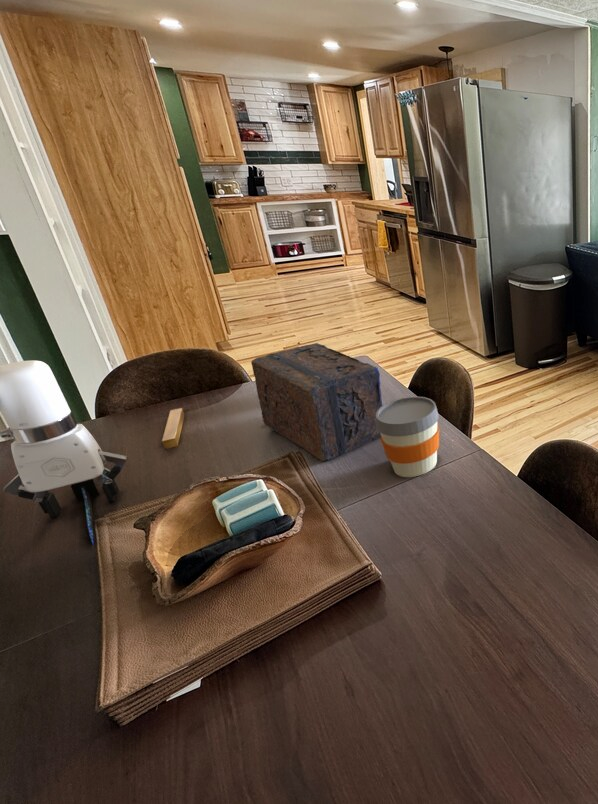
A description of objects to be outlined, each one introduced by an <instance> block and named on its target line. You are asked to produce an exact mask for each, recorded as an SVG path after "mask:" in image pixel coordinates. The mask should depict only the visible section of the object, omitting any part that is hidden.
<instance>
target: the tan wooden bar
mask: <svg viewBox="0 0 598 804" xmlns="http://www.w3.org/2000/svg"><path fill="white" fill-rule="evenodd" d="M184 420H185V412H184V409H183V407H179V408H175V409H174V408H173V409H170V411H169V414H168V417H167V421H166V425H165V429H164V431H163V432H164V433H163V435H162V439H161V443H162V445H163V448H164V450H167V449H171V448H176V447H179V443H180V438H181V434H182V429H183V423H184Z"/></svg>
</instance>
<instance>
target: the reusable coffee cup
mask: <svg viewBox="0 0 598 804" xmlns="http://www.w3.org/2000/svg"><path fill="white" fill-rule="evenodd" d="M438 420H439V412H438V408H437V405H436V402H435V401H434V400H433V399H431V398H428V397H425V396H405V397H401V398H397V399H393V400H391V401H388V402H386V403H385V404H382V407H380V408H379V409H378V410H377V412H376V426H377V430H378V431H379V432H380V434H381V436H380V437H379V438H380V439H379V440H380V443H381V445H382V448H383V451H384V453H385V456H386V458H387V459H388V461H390V464H391V466H392V469H393V471H394V473H395V474H396V475H397V476H399V477H402V478H413V477H419V476H423V475H425V474H427V473H429V472H430V471H432V470H433V469H434V468H435V467H436V465H437V463H438V449H439V447H440V427H439V424H438Z"/></svg>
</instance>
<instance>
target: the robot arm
mask: <svg viewBox="0 0 598 804" xmlns="http://www.w3.org/2000/svg"><path fill="white" fill-rule="evenodd" d="M0 413H1V415H2V417H3V419H4V421H5V422H6V425H7V426H8V427H7V428H6V429H1V430H0V437H1V438H3V439H4V438H12V439H13V442H12V443H11V444H10V449H11V455H12V459H13V461H14V465H15V468H16V471H17V473H18V474H17V475H16V476H15V477H13V478H12V479H11V480H10V481H9V482H7V483H6V485H5V486H4V487H3V488H2V489H3V490H2V491H3V492H5V493H8V494H12V495H15V496H18V497H19V498H22V499H26V500H31V501H33V503H38V504H39V506H40V509H42V511H43V513H44V514H48V516H49V518H51V519H55V518H57V517H58V516H59V513H60V511H61V509H62V506H61V505H60V503H59V501H58V499H57V497H56V496H55V494H54V493H53V492H52V490H55V489H59V488H63V487H67V486H71V484H75V483H79V482H83V481H87V480H90V479H93V480H94V479H95V480H97V481H99V482H100V483H102V485H101V489H102V491H103V494H104V495H105V497H106V500H107V501H108V503H112V502H115V501H116V497H117V495H119V494H120V489H119V486H118V485H117V482H116V478H117V476H118V475H119V474H120V472H121V471H122V469H123V468H124V466H125V464H126V463H127V461H128V456H127V455H123V454H118V453H113V452H108V451H103V450H102V448H101V446H100V445H99V444H98V442H97V440H96V439H95V437H94V436H93V435H92V434H91V432H90V431H89V430H88V429H87V428H86V426H85V425H83V424H82V423H77V420H76V419H75V416H74V414H73V412H72V410H71V408H70V406H69V404H68V402H67V399H66V398H65V395H64V393H63V392H62V389H61V386H60V385H59V384H58V381H57V378H56V377H55V375H54V373H53V371H52V369H51V367H50V365H49V364H47V363H46V362H44V361H41V360H36V359H35V360H20V361H14V362H10V363H5V364H2V365H0ZM107 462H109V463H113V464H114V465H113V466H112V468H111V469H109V468H107V467H105V466H106V465H107ZM50 490H51V491H50ZM49 491H50V492H49Z"/></svg>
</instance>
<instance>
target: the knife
mask: <svg viewBox="0 0 598 804" xmlns="http://www.w3.org/2000/svg"><path fill="white" fill-rule="evenodd" d="M70 488H71V491H72V492H73V494H74V496H75V498H76V500H77V502H81V501H84V508H85V517H86V526H87V531H88V535H89V537H90V541H91V544H92V545H94V532H93V531H94V528H93V527H94V525H93V507H92V500H91V498H93V497H97V496H100V492H99V489H98V487H97V485H96V482H95V480H94V479H90V480H87V481H83V482H79V483H75V484H71V485H70Z"/></svg>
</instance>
